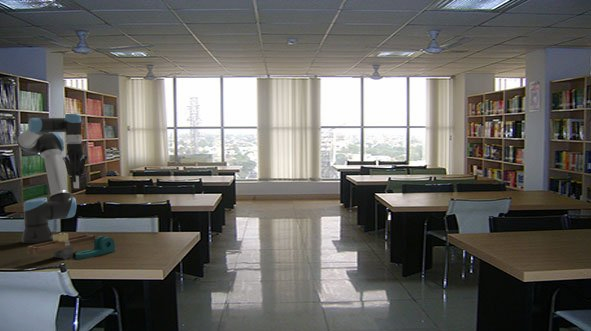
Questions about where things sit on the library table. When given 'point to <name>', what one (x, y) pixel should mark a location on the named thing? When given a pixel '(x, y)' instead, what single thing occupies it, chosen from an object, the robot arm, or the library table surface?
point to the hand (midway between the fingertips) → (76, 188)
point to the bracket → (98, 248)
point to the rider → (60, 237)
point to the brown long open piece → (61, 246)
